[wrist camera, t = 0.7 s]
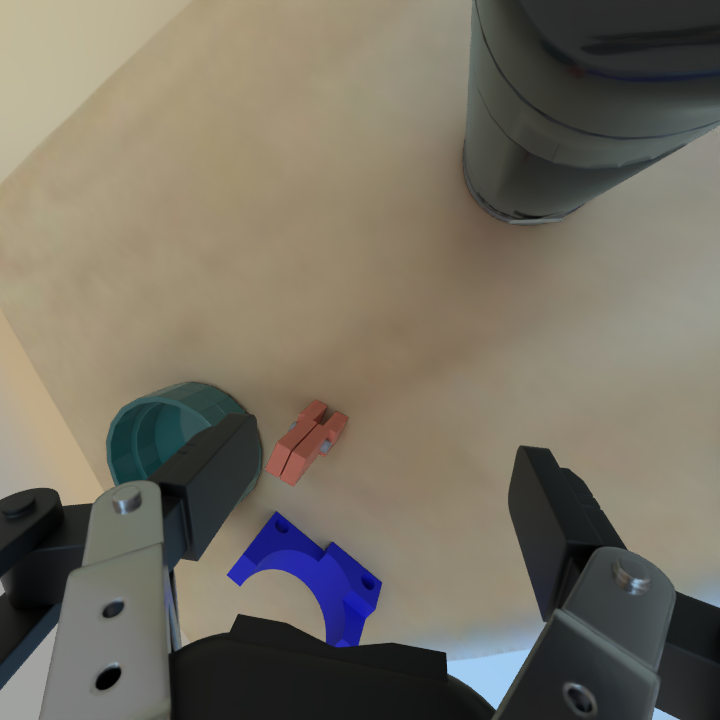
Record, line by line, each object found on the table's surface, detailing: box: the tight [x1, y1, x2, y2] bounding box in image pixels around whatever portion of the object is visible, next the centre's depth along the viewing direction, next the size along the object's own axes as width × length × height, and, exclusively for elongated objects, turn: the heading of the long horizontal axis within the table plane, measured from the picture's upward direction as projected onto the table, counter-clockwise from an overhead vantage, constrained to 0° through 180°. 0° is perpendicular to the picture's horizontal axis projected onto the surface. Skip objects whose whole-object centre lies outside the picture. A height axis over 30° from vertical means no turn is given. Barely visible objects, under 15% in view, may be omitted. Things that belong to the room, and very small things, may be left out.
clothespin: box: [265, 400, 348, 486], centre depth 29 cm, size 2×3×8 cm
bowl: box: [106, 382, 262, 510], centre depth 35 cm, size 13×13×5 cm
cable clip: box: [227, 511, 382, 647], centre depth 34 cm, size 12×4×6 cm, turn 54°
